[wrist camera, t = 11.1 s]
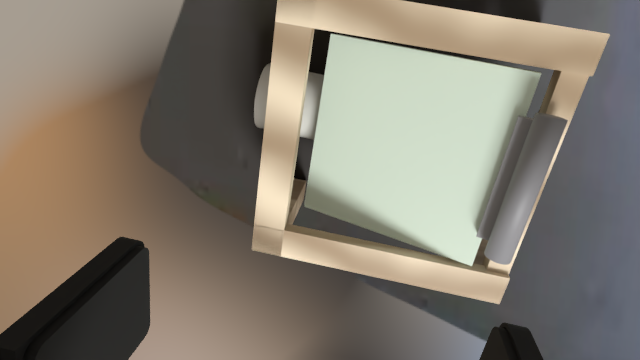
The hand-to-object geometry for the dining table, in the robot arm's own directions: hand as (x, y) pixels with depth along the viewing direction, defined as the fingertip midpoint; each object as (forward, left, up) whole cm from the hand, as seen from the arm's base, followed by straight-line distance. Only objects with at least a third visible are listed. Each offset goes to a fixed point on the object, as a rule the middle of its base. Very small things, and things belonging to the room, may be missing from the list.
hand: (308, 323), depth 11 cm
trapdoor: (0, +4, -19) cm, 19 cm away
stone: (0, -3, -24) cm, 24 cm away
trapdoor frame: (0, +3, -26) cm, 26 cm away
